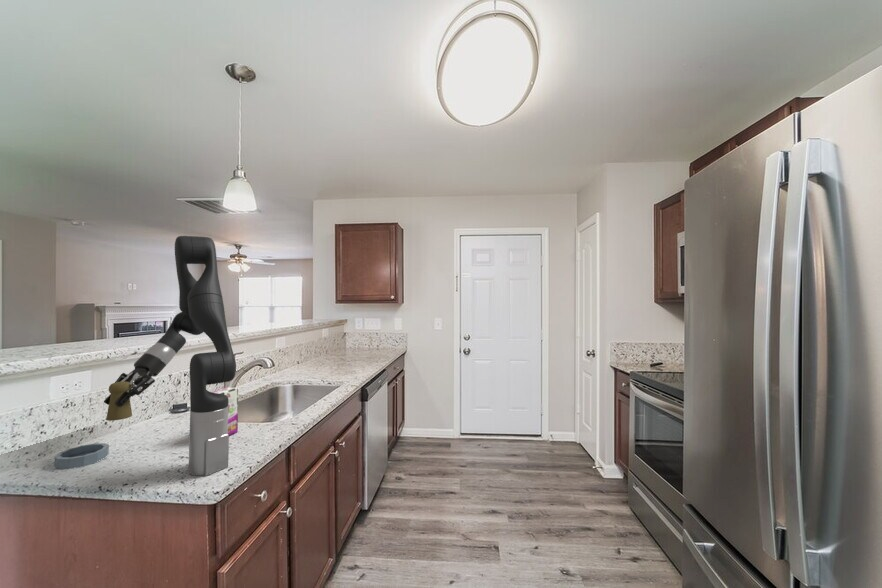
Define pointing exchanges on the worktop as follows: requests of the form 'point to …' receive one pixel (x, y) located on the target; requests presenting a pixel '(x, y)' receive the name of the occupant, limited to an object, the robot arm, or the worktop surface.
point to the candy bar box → (231, 408)
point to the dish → (81, 455)
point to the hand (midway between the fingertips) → (112, 404)
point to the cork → (116, 392)
